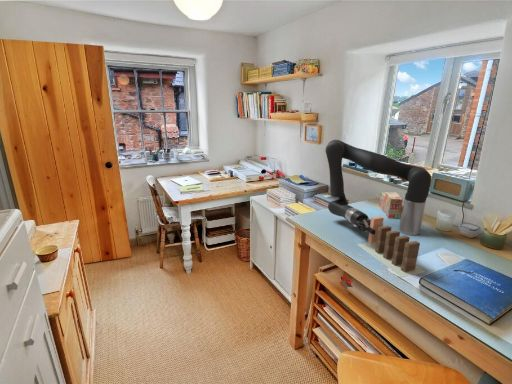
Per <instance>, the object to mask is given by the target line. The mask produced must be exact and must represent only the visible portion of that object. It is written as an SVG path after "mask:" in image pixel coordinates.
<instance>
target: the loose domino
mask: <svg viewBox="0 0 512 384" xmlns="http://www.w3.org/2000/svg"><path fill="white" fill-rule="evenodd" d="M370 219H371V223H370V227H371V228H372V229H374V230H375V235H373V234H371V233H369V232H368V237H367V243H371V244H372V243H376V242H377V235H378V228H379V227H381V226H384V221H385V220H384V219H385V218H384V217H383V216H381V215H379V216H372V217H371V218H370Z"/></svg>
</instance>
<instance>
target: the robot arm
mask: <svg viewBox="0 0 512 384" xmlns="http://www.w3.org/2000/svg"><path fill="white" fill-rule="evenodd" d="M325 154H326V158H327V162H328V169H329V187H330V195H331V197H333V198H337V199H336V200H331V201H329V203H328V204H327V208H328V210H329V212H330V214H332V215H335V216H337V217H342V218H344V219H345V220H347V222H349V223H350V224H352V228H354V229H356V230H358V231H360V232H367V233H368V234H369V233H371V234H373V235H375V230H374V229H372V228H371V227H370V223H371V218H369V216H368V215H367V214H366V213H365V212H363V211H361V210H359V209H357V208H355V207H353V206H351V205H349V203H348V200H347V198H346V197H347V196H346V194H345V187H344V186H345V185H344V175H343V170H342V169H343V167H342V166H343V165H342V164H343V163H342V162H343V159H345V160H348V161H350V162H352V163H355V164H356V165H358V166H360V167H361V168H362V169H365V170H367V171H370V172H373V173H375V174H376V173H377V174H379V175H386V176H393V177H396V178H400V179H402V180H405V181H407V182H408V185H407V191H406V193H405V194H404V195H405V196H404V201H403V206H402V210H401V213H400V219H399V220H400V221H399V227H398V229H399V232H400V233H403V234H405V235H407V236H408V235H409V236H418V235H420V234H421V228H422V223H423V219H424V212H425V208H426V201H427V198H428V196H429V193H430V189H431V185H432V176H431V174H430V172H429V171H428V170H427V169H425V168H424V167H421V166H417V165H413V164H412V165H411V164H408V163H403V162H400V161H399V160H396V159H393V158H391V157H389V156H385V155H383V154H380V153H378V152H374V151H371V150H368V149H362V148H358V147H355V146H353V145H351V144H349V143H347V142H344V141H341V140H340V139H332V140H331V141H329V142H328V143H327V145H326V147H325Z"/></svg>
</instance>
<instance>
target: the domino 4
mask: <svg viewBox="0 0 512 384" xmlns="http://www.w3.org/2000/svg"><path fill="white" fill-rule="evenodd" d="M420 245H421V243H420V242H419V241H417V240H414V241H413V240H412V241H409V242H406V243H405V248H404V254H403V259H402V265H401V270H402V271H403V272H409V271H414V270H415V267H416V265H417V262H418V255H419V251H420Z"/></svg>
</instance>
